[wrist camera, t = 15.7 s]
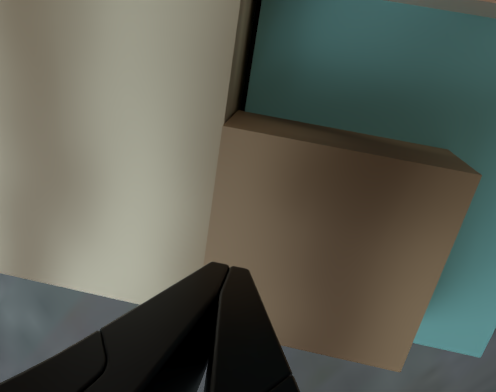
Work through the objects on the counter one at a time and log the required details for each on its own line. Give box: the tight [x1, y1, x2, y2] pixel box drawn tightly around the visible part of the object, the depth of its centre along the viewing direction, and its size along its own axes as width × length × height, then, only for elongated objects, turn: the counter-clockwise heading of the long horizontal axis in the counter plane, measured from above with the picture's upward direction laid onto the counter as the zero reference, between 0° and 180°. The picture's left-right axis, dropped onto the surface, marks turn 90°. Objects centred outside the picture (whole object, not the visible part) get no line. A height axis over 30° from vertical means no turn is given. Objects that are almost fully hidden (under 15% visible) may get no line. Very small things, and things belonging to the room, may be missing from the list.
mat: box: [245, 0, 496, 358], centre depth 12 cm, size 10×19×1 cm, turn 171°
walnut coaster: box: [204, 110, 482, 372], centre depth 12 cm, size 6×6×2 cm
